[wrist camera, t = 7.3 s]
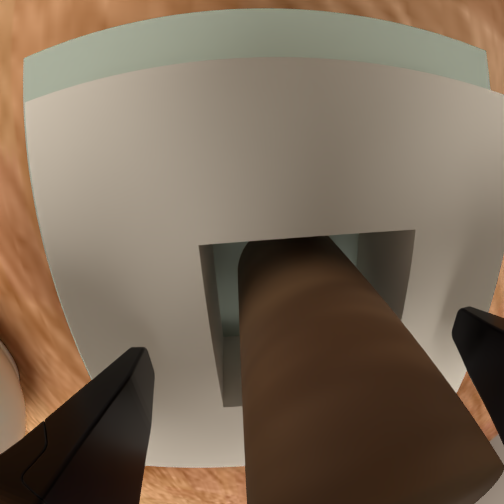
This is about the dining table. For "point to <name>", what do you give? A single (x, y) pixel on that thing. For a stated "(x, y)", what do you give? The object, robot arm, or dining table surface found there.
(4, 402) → the lidded jar
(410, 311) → the socket
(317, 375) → the peg
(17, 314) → the dining table surface
